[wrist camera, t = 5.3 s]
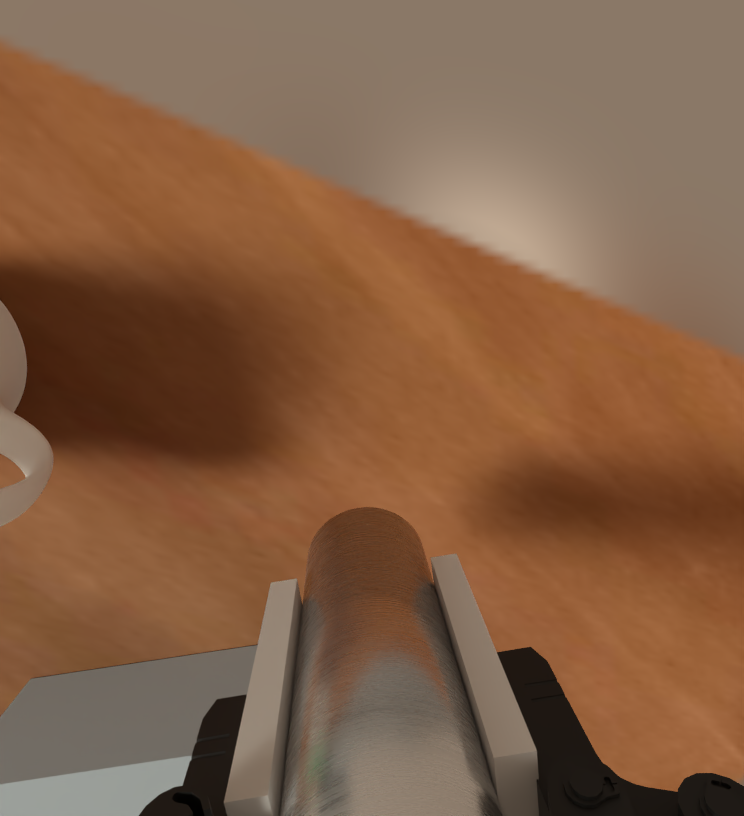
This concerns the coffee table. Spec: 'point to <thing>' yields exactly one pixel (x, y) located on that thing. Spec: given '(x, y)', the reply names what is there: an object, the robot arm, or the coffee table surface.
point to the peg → (379, 684)
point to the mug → (18, 427)
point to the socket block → (111, 733)
